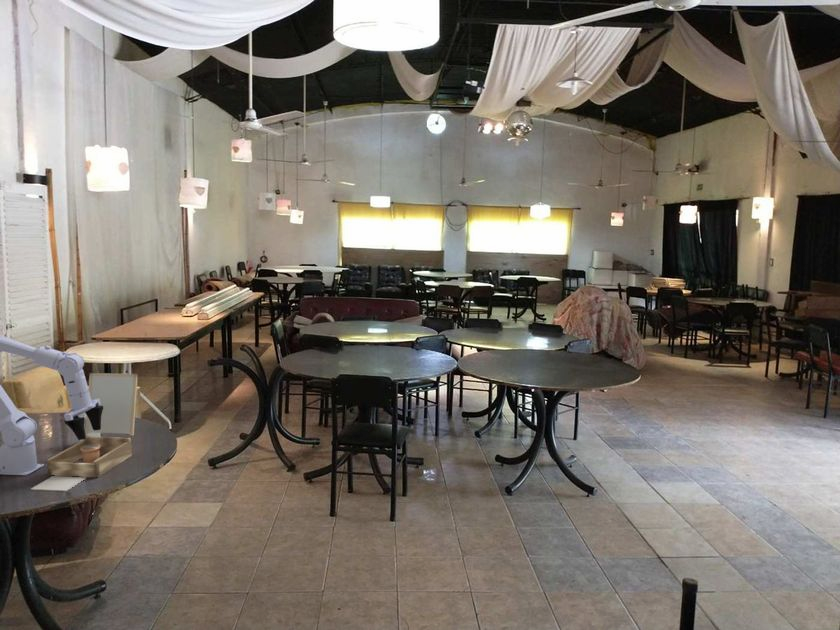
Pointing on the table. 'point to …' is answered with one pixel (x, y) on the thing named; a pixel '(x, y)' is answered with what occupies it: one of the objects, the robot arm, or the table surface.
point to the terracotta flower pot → (90, 453)
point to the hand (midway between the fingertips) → (89, 434)
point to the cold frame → (112, 453)
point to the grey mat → (58, 483)
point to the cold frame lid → (114, 402)
